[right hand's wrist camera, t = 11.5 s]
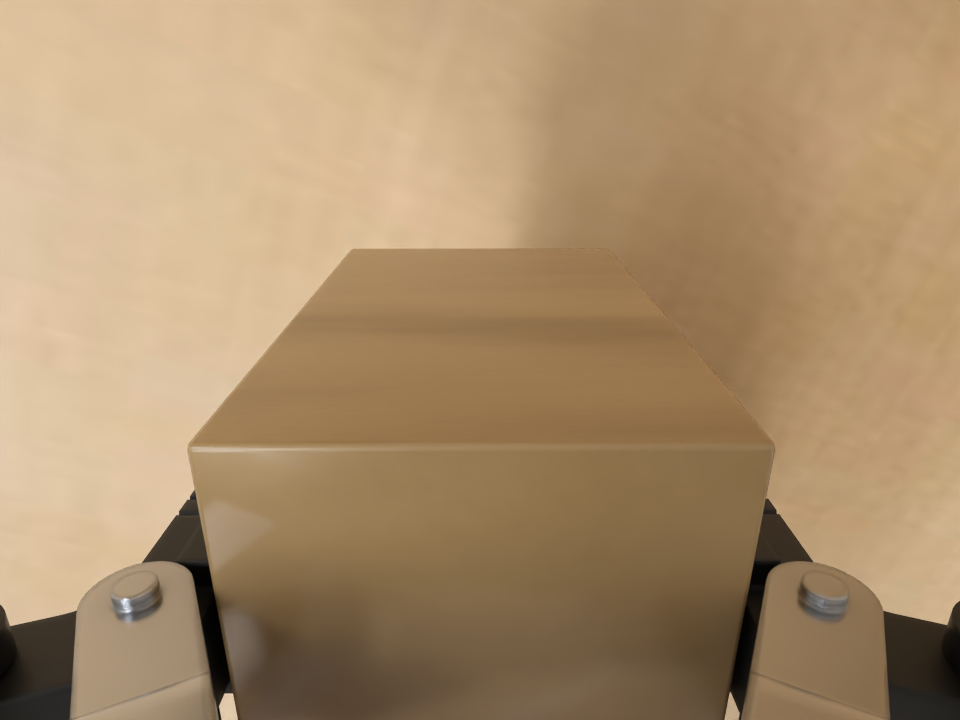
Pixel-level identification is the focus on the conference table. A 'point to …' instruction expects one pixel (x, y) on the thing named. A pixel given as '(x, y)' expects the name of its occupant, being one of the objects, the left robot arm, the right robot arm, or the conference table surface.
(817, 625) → the right robot arm
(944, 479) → the conference table surface
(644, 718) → the box
